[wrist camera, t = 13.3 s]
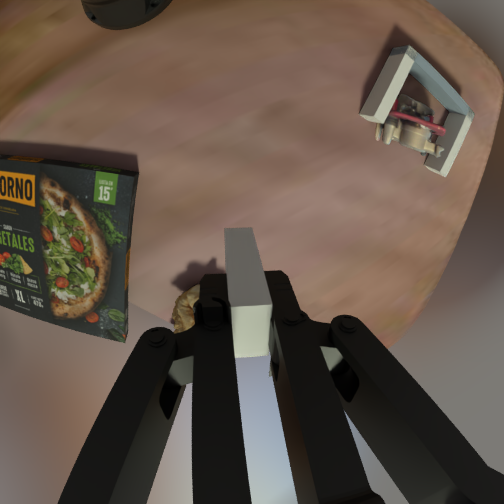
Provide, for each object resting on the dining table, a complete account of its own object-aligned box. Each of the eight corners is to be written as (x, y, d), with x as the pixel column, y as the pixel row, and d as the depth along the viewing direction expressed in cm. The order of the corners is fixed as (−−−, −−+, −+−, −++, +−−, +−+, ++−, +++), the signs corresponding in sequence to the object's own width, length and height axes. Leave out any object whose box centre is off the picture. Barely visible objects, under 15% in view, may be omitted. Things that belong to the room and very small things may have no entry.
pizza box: (5, 296, 49) (-2, 304, 46) (-12, 153, 34) (-23, 157, 31) (128, 331, 57) (124, 342, 54) (139, 171, 41) (133, 177, 38)
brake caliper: (439, 98, 36) (468, 145, 31) (410, 136, 46) (430, 184, 41) (391, 73, 34) (419, 119, 29) (363, 118, 44) (380, 168, 39)
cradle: (429, 170, 45) (445, 177, 41) (358, 114, 40) (373, 116, 35) (457, 110, 40) (474, 113, 35) (392, 48, 34) (409, 44, 30)
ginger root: (242, 269, 50) (245, 306, 44) (246, 319, 61) (248, 352, 55) (155, 275, 49) (148, 311, 43) (175, 323, 60) (172, 355, 54)
